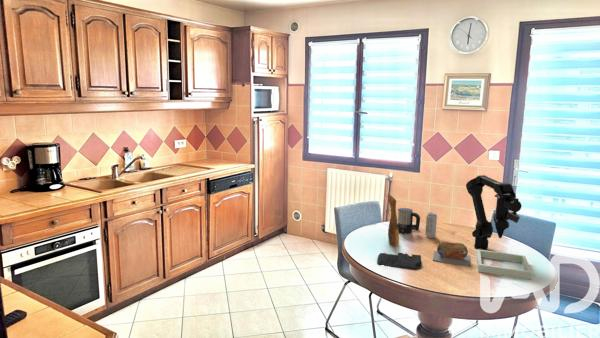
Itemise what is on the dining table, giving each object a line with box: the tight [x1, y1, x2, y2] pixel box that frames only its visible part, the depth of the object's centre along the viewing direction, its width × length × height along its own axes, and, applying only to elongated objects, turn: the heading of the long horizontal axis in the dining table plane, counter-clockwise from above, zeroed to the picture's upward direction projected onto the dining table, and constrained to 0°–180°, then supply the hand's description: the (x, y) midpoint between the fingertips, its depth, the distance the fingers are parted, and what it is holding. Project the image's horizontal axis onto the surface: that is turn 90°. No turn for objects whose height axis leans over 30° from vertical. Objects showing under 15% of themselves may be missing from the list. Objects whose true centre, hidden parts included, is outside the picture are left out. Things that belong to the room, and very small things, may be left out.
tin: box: [436, 240, 469, 259], centre depth 215 cm, size 15×3×8 cm, turn 68°
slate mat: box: [432, 250, 471, 267], centre depth 215 cm, size 18×14×1 cm
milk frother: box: [397, 207, 421, 235], centre depth 260 cm, size 14×16×15 cm
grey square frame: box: [476, 248, 533, 280], centre depth 205 cm, size 23×23×4 cm
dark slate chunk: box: [376, 252, 423, 271], centre depth 209 cm, size 15×22×5 cm
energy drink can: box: [424, 211, 438, 239], centre depth 249 cm, size 6×6×15 cm
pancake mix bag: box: [387, 193, 400, 248], centre depth 237 cm, size 7×19×28 cm, turn 173°
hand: (499, 235), depth 217 cm, fingers open, 9 cm apart
